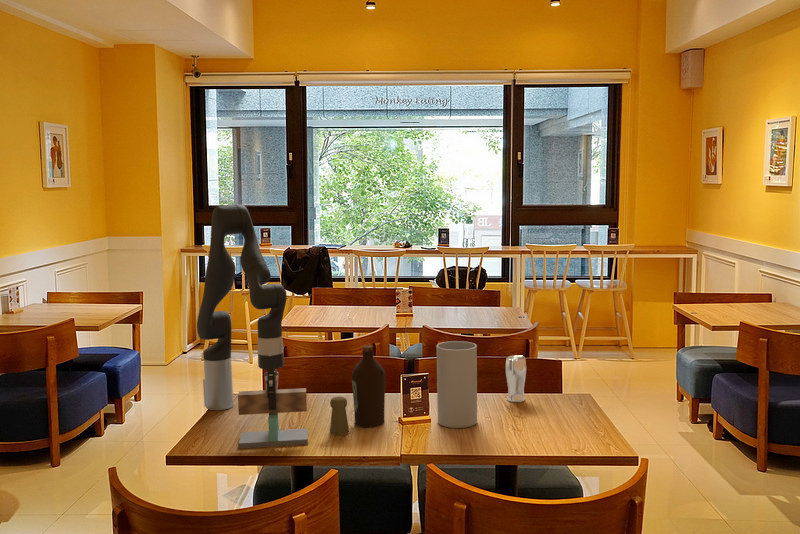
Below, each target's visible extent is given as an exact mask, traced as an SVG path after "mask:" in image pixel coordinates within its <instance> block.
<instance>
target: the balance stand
mask: <svg viewBox="0 0 800 534" xmlns="http://www.w3.org/2000/svg"><path fill="white" fill-rule="evenodd" d="M267 417H268V422H267V424H268V430H259V431H242V432H241V433H240V438H239V441H238V442H239V443H238V448H239V449H250V448H251V449H252V448H267V447H284V446H301V445H308V444H309V436H308V434H309V433H308V428H295V429H294V428H292V429H279V413H268V416H267Z"/></svg>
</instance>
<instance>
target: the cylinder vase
mask: <svg viewBox="0 0 800 534" xmlns="http://www.w3.org/2000/svg"><path fill="white" fill-rule="evenodd" d="M477 345H478V344H476V343H474V342H469V341H464V340H463V341H461V340H460V341H459V340H455V341H454V340H452V341H443V342H441V343H440V342H439V343H437V344H436V388H437V389H436V394H437V396H436V397H437V398H436V400H437V403H436V404H437V405H436V406H437V407H436V408H437V423H438V424H439V425H441V426H442V427H444V428H449V429H465V428H466V429H467V428H470V427H474V426H475V425H476V424H477V422H478V370H477V369H478V367H477V365H478V364H477V358H478V357H477V356H478V352H477V349H478V346H477Z"/></svg>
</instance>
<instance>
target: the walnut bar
mask: <svg viewBox="0 0 800 534" xmlns="http://www.w3.org/2000/svg"><path fill="white" fill-rule="evenodd" d="M269 393H274V391H269ZM276 395H277V396H276V410H269V402H268V397H267V390H266V389H262V390H261V389H260V390H244V391H243V390H241V391H238V394H237V405H238V406H237V407H238V408H237V409H238V416H241V415H243V416H245V415H262V414H263V415H265V414H269V413H278V414H281V413H299V412H308V408H307V407H308V405H307V403H308V402H307V388H305V387H304V388H302V387H301V388H285V389H284V388H283V389H277V390H276Z"/></svg>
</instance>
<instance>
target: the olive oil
mask: <svg viewBox="0 0 800 534" xmlns="http://www.w3.org/2000/svg"><path fill="white" fill-rule="evenodd" d="M373 348H374V346H373V345H369V344H367V345H363V346H362V358H361V359H360V361H358V363H357V364H356V365H355V366H354V368H353V370H352V373H351V385H352V387H351V388H352V397H353V398H352V399H353V411H354V423H355V425H356V426H357V427H360V426H361V427H362V428H375V427H380V426H383V425H384V424H385V402H386V401H385V397H386V373H385V369H384V367H383V366H382V365H381V364H380V363H379V362H378V361H377V360H376V359H375V358H374V350H373ZM361 427H360V428H361Z"/></svg>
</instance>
